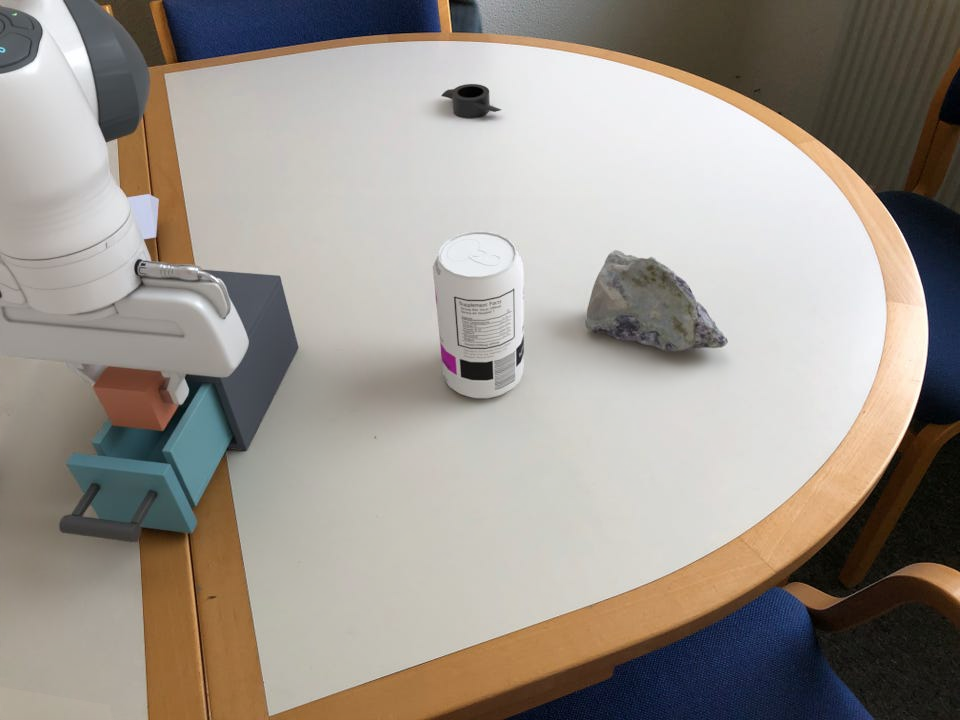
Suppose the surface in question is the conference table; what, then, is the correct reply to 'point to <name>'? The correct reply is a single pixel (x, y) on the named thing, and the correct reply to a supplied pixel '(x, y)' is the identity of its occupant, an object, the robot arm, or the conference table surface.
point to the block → (134, 398)
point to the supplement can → (480, 313)
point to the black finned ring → (470, 100)
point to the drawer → (150, 471)
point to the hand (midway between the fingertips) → (143, 395)
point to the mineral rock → (649, 306)
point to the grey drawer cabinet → (255, 352)
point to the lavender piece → (145, 214)
